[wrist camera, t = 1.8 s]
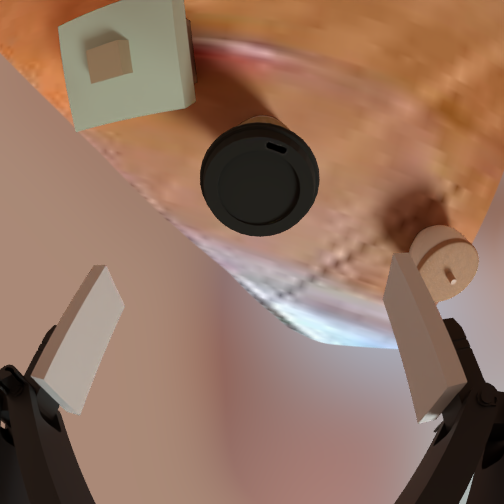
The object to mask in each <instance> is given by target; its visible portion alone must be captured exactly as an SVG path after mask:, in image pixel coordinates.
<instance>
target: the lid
mask: <svg viewBox="0 0 504 504" xmlns="http://www.w3.org/2000/svg"><path fill="white" fill-rule="evenodd" d="M58 32H59V41H60V49H61V57H62V64H63V70H64V76H65V82H66V88H67V93H68V98H69V103H70V108H71V113H72V118H73V122H74V126H75V131H76V132H78V131H82V130H85V129H89V128H93V127H96V126H100V125H104V124H108V123H112V122H117V121H121V120H125V119H130V118H135V117H140V116H144V115H150V114H155V113H160V112H166V111H172V110H178V109H185V108H187V107H188V106H190V105H191V104H193V103H195V102H196V97H195V90H194V82H193V75H192V67H191V59H190V51H189V42H188V34H187V25H186V16H185V6H184V0H121V1H118V2H115V3H113V4H110V5H107V6H104V7H102V8H99V9H97V10H94V11H92V12H89V13H87V14H85V15H82V16H80V17H78V18H75V19H73V20H71V21H69V22H67V23H65V24H62V25H60V26H58Z"/></svg>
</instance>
